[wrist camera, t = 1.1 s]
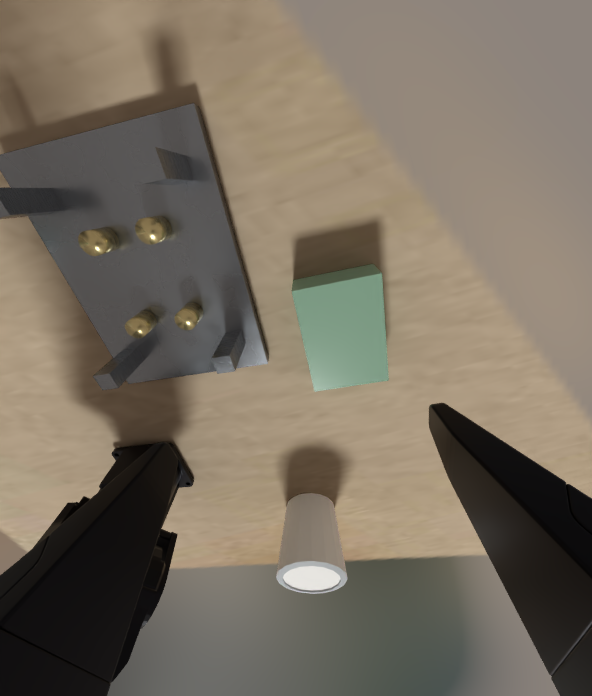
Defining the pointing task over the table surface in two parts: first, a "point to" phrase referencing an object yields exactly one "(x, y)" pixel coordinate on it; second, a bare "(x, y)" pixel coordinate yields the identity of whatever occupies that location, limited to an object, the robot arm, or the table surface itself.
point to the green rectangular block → (343, 326)
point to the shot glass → (311, 546)
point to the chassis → (142, 244)
